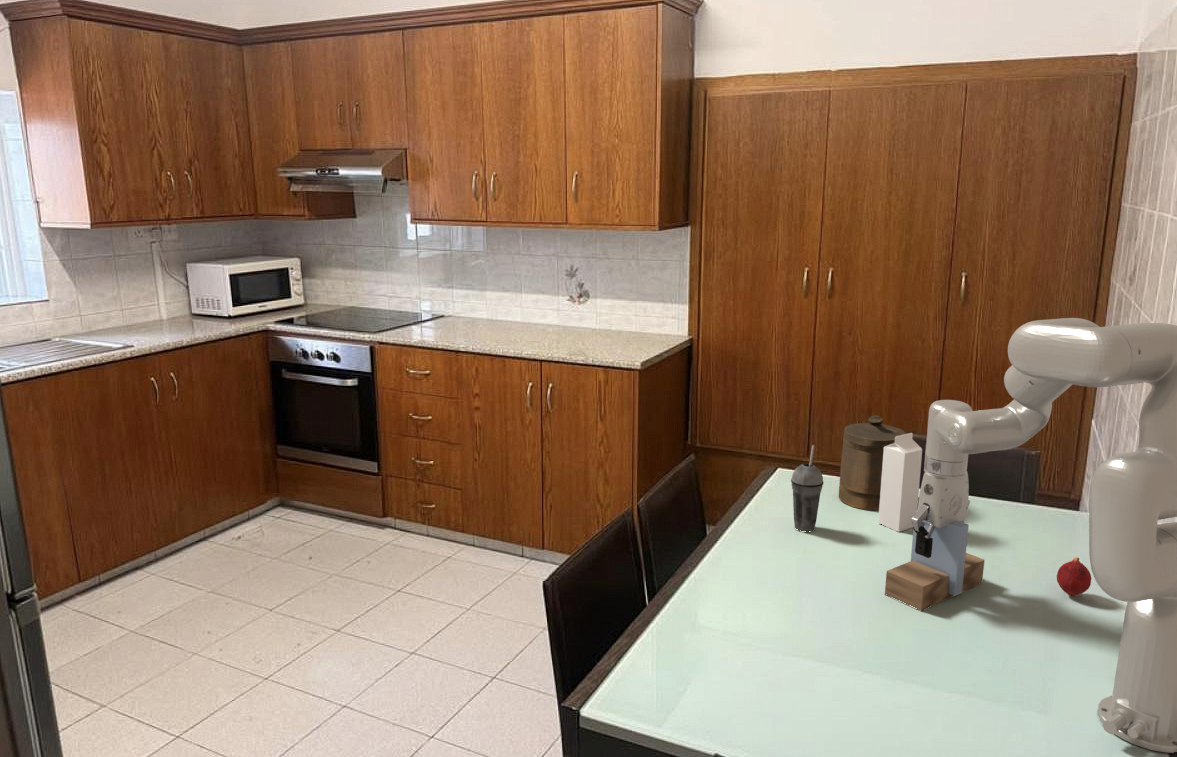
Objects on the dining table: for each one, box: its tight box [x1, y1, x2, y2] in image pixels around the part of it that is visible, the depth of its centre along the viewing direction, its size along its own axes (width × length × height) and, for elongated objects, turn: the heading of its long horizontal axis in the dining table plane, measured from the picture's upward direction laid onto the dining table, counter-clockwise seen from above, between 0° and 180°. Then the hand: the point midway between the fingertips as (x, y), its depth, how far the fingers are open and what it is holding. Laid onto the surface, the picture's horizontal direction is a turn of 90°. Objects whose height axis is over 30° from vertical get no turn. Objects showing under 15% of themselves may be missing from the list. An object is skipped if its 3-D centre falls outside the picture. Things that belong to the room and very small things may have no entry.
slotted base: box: [884, 552, 985, 611], centre depth 168 cm, size 20×8×5 cm, turn 124°
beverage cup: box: [790, 444, 825, 533], centre depth 195 cm, size 7×7×20 cm
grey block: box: [910, 509, 969, 597], centre depth 167 cm, size 2×10×14 cm, turn 34°
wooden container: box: [838, 414, 907, 512], centre depth 213 cm, size 15×15×22 cm
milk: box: [877, 432, 923, 533], centre depth 197 cm, size 6×6×22 cm
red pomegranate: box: [1056, 556, 1092, 597], centre depth 164 cm, size 6×6×8 cm
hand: (937, 549), depth 167 cm, fingers open, 9 cm apart
